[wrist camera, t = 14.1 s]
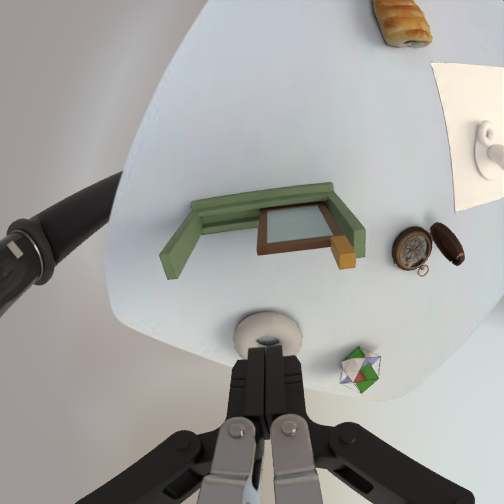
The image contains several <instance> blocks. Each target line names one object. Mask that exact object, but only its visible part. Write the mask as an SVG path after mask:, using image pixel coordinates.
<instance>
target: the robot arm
mask: <svg viewBox="0 0 504 504" xmlns="http://www.w3.org/2000/svg"><path fill="white" fill-rule="evenodd" d="M44 271H45V263H44V258H43V255H42V252H41V249H40V247H39V245H38V244H37V242H36V241H35V239H34V238H33V237H32V236H31V235H30V234H29V233H28V232H27V231H25V230H23V229H16V230H14V231H12V232H11V233H10V234H9V235H8V236H6V237H5V238H3V239H2V240H0V318H1V316H2V315H3V314H4V313H5V312H6V311H7V310H8V309H9V308H10V307H11V306H12V305H13V304H14V303H15V302H16V301H17V300H18V299H19V298H20V297H21V296H22V295H23V293H25V292H26V291H27V290H28V289H29V288H30V287H31V286H32V285H33V284H34V283H35V282H36V281H38V280H39V279H40V278H41V277H42V276H43V274H44ZM270 434H271V444H272V455H273V467H274V492H275V504H323V500H322V495H321V489H320V483H319V478H318V474H317V471H316V468H323V469H327V470H328V471H329V472H331V473H332V474H333V475H335V476H336V477H337V478H338V479H340V480H341V481H342V482H344V483H345V484H347V485H348V486H349V487H350V488H352V489H353V490H354V491H356V492H357V493H359V494H360V495H361V496H363V497H364V498H366V499H367V500H369V501H370V502H371V503H373V504H475V498H474V495H473V493H472V492H471V491H469V490H467V489H465V488H463V487H461V486H459V485H457V484H455V483H453V482H451V481H450V480H448V479H446V478H444V477H442V476H440V475H439V474H436V473H435V472H433V471H431V470H430V469H428V468H426V467H425V466H423V465H421V464H419V463H418V462H416V461H414V460H413V459H411V458H409V457H408V456H406V455H405V454H403V453H401V452H400V451H398V450H396V449H395V448H393V447H392V446H390V445H389V444H387V443H386V442H384V441H382V440H381V439H379V438H378V437H376V436H375V435H374V434H372V433H371V432H369V431H368V430H366V429H365V428H363V427H362V426H360V425H359V424H356V423H353V422H344V423H341V424H339V425H337V426H335V427H332V426H324V425H319V424H316V423H315V422H313V421H312V420H310V419H309V417H308V416H307V413H306V408H305V399H304V389H303V380H302V371H301V363H300V362H299V360H298V359H297V357H296V356H295V355H290V356H284V355H283V347H282V345H275V346H266V349H265V347H253V348H248V358H247V359H246V360H238V361H237V362H236V364H235V365H234V367H233V368H232V375H231V384H230V392H229V402H228V409H227V417H226V420H225V422H224V423H223V424H222V425H221V426H220V427H219V428H218V429H216V430H214V431H211V432H207V433H203V434H199V435H196V434H195V433H193V432H191V431H187V430H182V431H178V432H175V433H174V434H172V435H171V436H170V437H168V438H167V439H166V440H165V441H164V442H162V443H161V444H159V445H158V446H157V447H156V448H155V449H153V450H152V451H151V452H149V453H148V454H146V455H145V456H144V457H142V458H141V459H140V460H138V461H137V462H136V463H134V464H133V465H132V466H130V467H129V468H127V469H126V470H125V471H123V472H122V473H120V474H119V475H117V476H116V477H114V478H113V479H112V480H110V481H109V482H107V483H106V484H104V485H103V486H101V487H99V488H98V489H97V490H95V491H93V492H92V493H90V494H89V495H87V496H85V497H84V498H82V499H80V500H79V501H77V502H76V503H75V504H181V503H182V502H183V501H184V500H186V499H187V498H188V497H190V496H191V495H192V494H193V493H194V492H196V491H197V490H198V489H199V488H200V491H199V496H198V500H197V504H261V503H260V502H261V496H260V488H261V480H262V471H263V462H264V440H268V439H270ZM315 467H316V468H315Z"/></svg>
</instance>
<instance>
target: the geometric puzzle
mask: <svg viewBox="0 0 504 504" xmlns="http://www.w3.org/2000/svg"><path fill="white" fill-rule="evenodd" d="M362 349H363V348H362ZM369 352H370V351H369ZM371 353H372V352H371ZM376 355H377V354H376ZM346 358H347V357H346ZM346 358H345V359H346ZM379 358H380V360H381V356H378V357H369V358H366V357H365V355H364V354H363V352H362V351H361V349H360V348H359V347H358V348H357V349H356V350H355V351H353V353H352V354H351V355H350V356H349V358H348V359H347V360H345V361H341V362H342V365H343V368H344V371H345V373H346V374H347V377H346V378H345V379H344V380H343V381H342V382H341V383H339V384H342V383H347V382H352V383H356V385H357V386H358V388H359V389H358V390H359V391H360V392H361V394H362V393H363V392H364V391H365V390H366V389H368V388H369V387H370V386H371V385H372V384H373V383H374V382H375V381H377V380H378V379H379V378H378V376H377V374H376V373H375V371H374V370H373V368H372V365H373V364H374V363H375V362H376V361H377V360H378V359H379ZM379 367H380V365H379ZM342 370H343V369H342ZM379 371H380V370H379ZM378 374H379V372H378ZM340 375H341V376H342V374H340ZM340 381H341V379H340ZM356 385H355V386H356ZM357 386H356V387H357ZM346 387H347V386H346ZM348 388H349V387H348ZM360 392H359V393H360Z"/></svg>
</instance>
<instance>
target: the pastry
mask: <svg viewBox="0 0 504 504" xmlns="http://www.w3.org/2000/svg"><path fill="white" fill-rule="evenodd" d="M373 4H374V9H373V11H374V13H375V14H376V19H377V21H378V25H379V26H380V29H381V33H382V36H383V37H384V39H385V40H386V42H387V43H388V44H389V45H391V46H396V47H405V46H414V47H425V46H427V45H428V44H430V43H431V42H432V38H433V37H432V36H431V34H430V29H429V25H428V23H427V21H426V19H425V18H424V14H423V12H422V11H421V10H420V8H419V7H418V6H417V5H416V4H415V3H414V1H413V0H373Z"/></svg>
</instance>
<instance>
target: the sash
mask: <svg viewBox="0 0 504 504" xmlns="http://www.w3.org/2000/svg"><path fill="white" fill-rule="evenodd" d="M325 247H331V251H332V253H333V256H334V258H335V260H336V263H337V265H338V267H339V269H348V268H355V264H356V253H355V251H354V249H353V248H352V246H351V244H350V243H349V241H348V239H347V238H346V236H345V235H344V234H343V232H342V230H341V229H340V227H339V226H338V224H337V222H336V221H335V219H334V218H333V216H332V214H331V213H330V211H329V210H328V208H327V207H326V205H325V204H324V202H323V201H320V202H311V203H302V204H294V205H286V206H278V207H270V208H262V209H260V214H259V226H258V238H257V255H258V256H259V255H267V254H275V253H284V252H292V251H300V250H308V249H317V248H325Z"/></svg>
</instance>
